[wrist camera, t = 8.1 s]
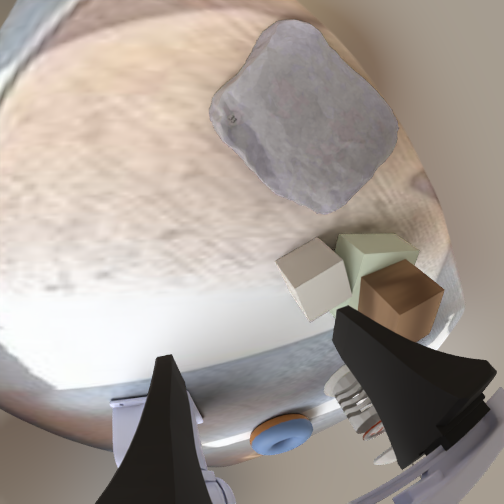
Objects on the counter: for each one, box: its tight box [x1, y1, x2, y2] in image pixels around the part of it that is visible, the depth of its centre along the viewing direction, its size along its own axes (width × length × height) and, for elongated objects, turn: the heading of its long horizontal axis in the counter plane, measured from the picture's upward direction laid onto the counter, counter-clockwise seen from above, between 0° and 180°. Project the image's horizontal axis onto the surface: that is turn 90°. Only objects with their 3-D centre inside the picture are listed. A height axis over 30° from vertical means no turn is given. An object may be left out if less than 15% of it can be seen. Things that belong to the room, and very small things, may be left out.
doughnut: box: [250, 414, 313, 455], centre depth 36 cm, size 10×10×5 cm
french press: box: [324, 364, 421, 478], centre depth 25 cm, size 10×12×25 cm
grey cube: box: [275, 237, 352, 322], centre depth 22 cm, size 4×4×4 cm
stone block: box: [209, 19, 399, 214], centre depth 16 cm, size 12×5×10 cm
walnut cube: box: [358, 259, 444, 342], centre depth 20 cm, size 5×5×5 cm
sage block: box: [330, 233, 420, 319], centre depth 24 cm, size 7×7×4 cm
